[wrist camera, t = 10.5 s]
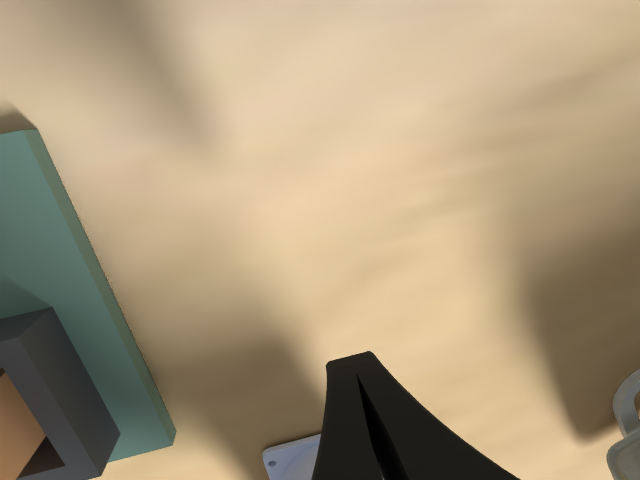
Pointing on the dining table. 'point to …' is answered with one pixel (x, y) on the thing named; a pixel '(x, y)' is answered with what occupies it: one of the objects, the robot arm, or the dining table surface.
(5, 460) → the plug
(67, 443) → the header board
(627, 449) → the network device
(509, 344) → the dining table surface
